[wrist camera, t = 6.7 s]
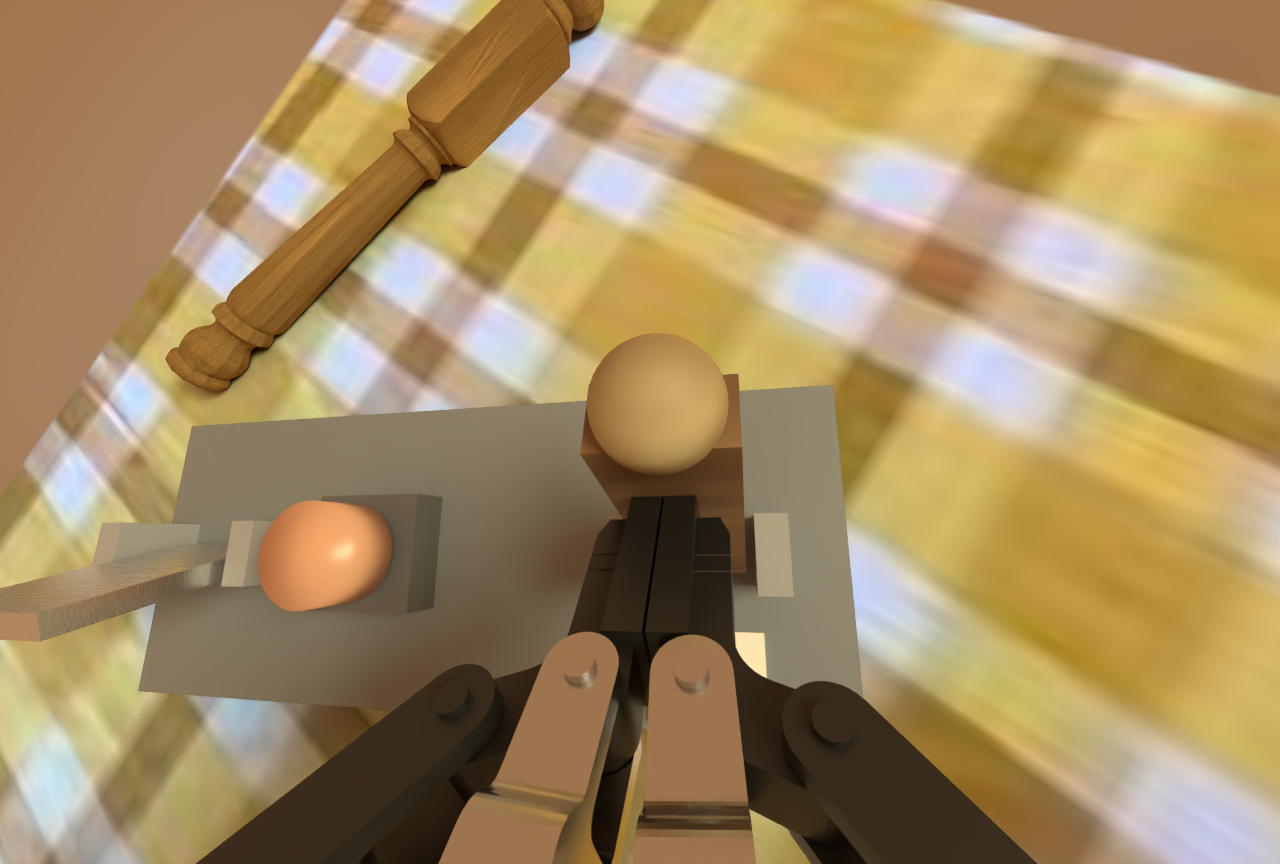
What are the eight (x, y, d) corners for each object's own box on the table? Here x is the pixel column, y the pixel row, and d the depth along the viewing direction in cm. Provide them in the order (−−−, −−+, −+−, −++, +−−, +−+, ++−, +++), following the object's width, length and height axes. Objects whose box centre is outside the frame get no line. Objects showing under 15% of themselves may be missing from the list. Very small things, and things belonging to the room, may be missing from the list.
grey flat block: (275, 562, 20) (40, 641, 13) (182, 562, 21) (-82, 635, 14) (273, 544, 20) (36, 613, 13) (180, 544, 21) (-84, 609, 14)
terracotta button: (386, 604, 17) (342, 612, 15) (302, 602, 18) (249, 610, 16) (397, 503, 18) (356, 499, 16) (316, 505, 19) (267, 501, 17)
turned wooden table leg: (150, 345, 25) (567, -65, 25) (213, 365, 28) (586, -1, 27) (173, 384, 24) (606, -42, 24) (236, 401, 27) (621, 22, 27)
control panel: (853, 723, 17) (896, 794, 12) (188, 678, 23) (43, 715, 18) (823, 399, 20) (850, 355, 15) (232, 434, 26) (116, 411, 21)
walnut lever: (747, 588, 16) (742, 425, 7) (657, 586, 16) (544, 435, 7) (743, 513, 17) (734, 293, 8) (660, 514, 18) (566, 311, 9)
